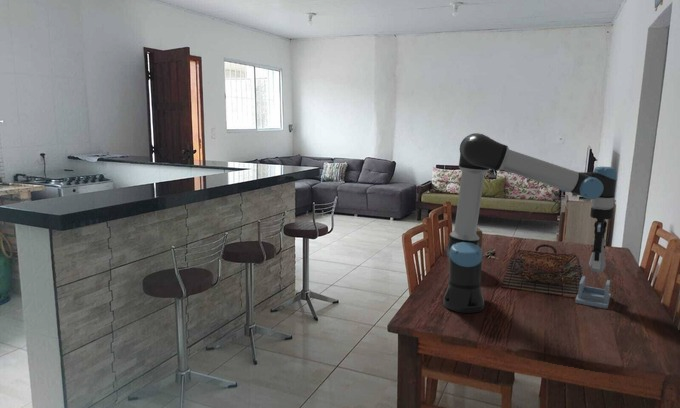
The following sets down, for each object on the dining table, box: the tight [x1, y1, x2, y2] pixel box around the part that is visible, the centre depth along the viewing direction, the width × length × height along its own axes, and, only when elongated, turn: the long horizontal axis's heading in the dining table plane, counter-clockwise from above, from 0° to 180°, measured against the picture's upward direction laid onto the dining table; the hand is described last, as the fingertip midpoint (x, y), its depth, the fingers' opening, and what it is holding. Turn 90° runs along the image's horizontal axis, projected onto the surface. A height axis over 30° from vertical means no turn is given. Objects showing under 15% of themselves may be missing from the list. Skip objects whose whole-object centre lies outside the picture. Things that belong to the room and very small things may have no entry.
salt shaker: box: [588, 238, 607, 273], centre depth 187 cm, size 6×6×13 cm
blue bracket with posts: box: [574, 275, 612, 310], centre depth 190 cm, size 14×11×8 cm
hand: (596, 266), depth 188 cm, fingers closed on salt shaker, 6 cm apart
